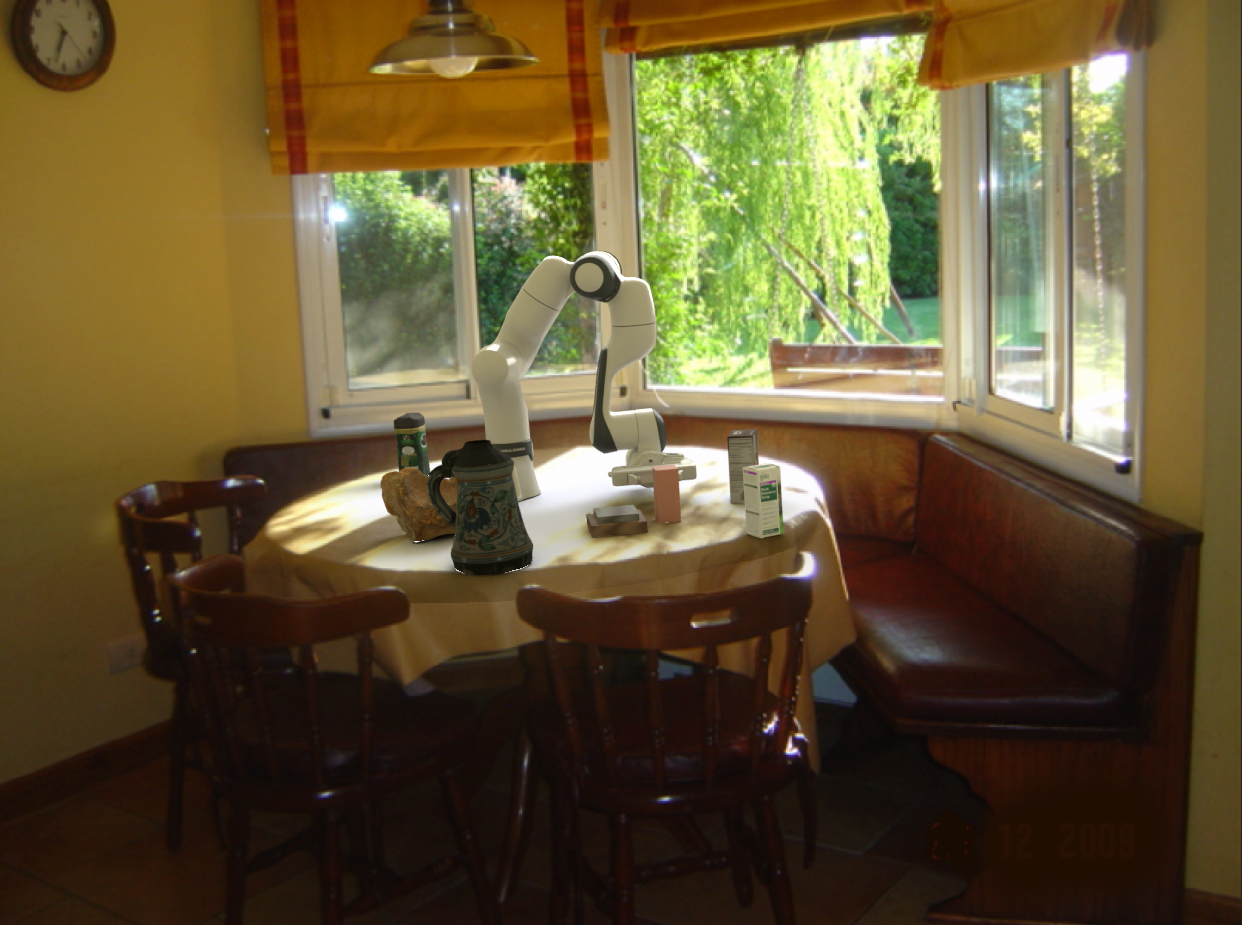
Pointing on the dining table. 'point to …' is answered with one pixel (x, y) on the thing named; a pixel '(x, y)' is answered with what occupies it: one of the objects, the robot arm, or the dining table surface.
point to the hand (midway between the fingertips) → (658, 479)
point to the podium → (616, 521)
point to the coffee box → (741, 459)
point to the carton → (666, 493)
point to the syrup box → (763, 500)
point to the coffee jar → (412, 442)
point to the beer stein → (482, 510)
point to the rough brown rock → (417, 503)
